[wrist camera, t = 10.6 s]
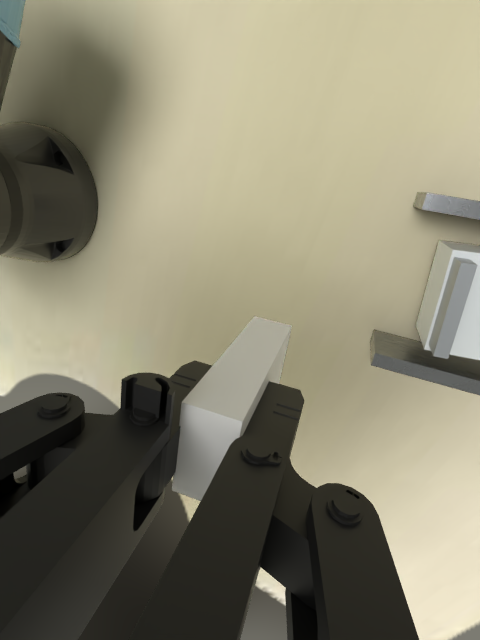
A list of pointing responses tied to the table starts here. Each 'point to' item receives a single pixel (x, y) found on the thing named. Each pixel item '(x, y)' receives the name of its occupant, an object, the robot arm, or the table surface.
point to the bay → (411, 353)
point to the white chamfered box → (452, 302)
